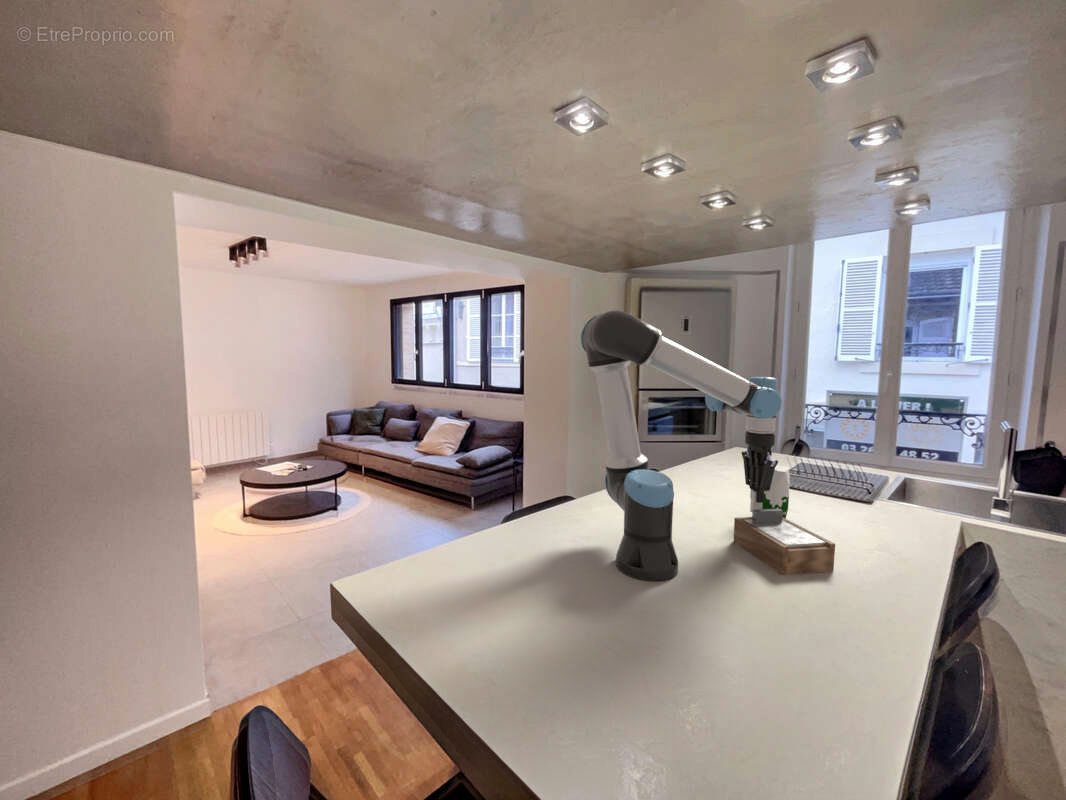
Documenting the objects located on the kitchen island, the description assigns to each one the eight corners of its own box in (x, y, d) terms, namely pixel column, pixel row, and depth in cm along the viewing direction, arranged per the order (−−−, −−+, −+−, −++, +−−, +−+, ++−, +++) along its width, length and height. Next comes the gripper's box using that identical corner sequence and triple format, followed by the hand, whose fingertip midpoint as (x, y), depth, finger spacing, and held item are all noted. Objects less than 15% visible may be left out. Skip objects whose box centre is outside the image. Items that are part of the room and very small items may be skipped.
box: (781, 574, 108) (783, 547, 107) (733, 541, 128) (734, 517, 127) (833, 571, 110) (835, 543, 109) (777, 538, 130) (779, 515, 129)
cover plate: (785, 548, 109) (786, 531, 108) (743, 523, 125) (744, 508, 125) (825, 546, 110) (826, 528, 110) (778, 521, 127) (779, 506, 127)
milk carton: (758, 515, 149) (761, 456, 147) (789, 521, 144) (792, 460, 142) (752, 523, 142) (755, 461, 140) (784, 529, 137) (788, 465, 135)
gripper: (788, 435, 120) (783, 519, 122) (757, 427, 133) (753, 504, 135) (763, 435, 119) (758, 520, 121) (734, 428, 132) (730, 505, 134)
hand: (756, 512), depth 128 cm, fingers closed
